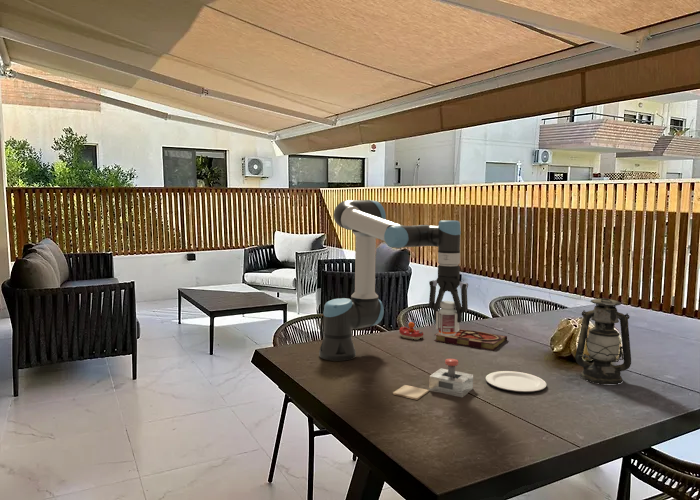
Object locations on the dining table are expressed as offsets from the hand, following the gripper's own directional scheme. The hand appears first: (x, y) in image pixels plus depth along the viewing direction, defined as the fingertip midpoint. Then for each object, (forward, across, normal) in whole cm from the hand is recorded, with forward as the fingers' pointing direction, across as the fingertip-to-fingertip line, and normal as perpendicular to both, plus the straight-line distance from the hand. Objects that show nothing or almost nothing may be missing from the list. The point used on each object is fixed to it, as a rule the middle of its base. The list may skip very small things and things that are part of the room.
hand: (447, 330), depth 183 cm
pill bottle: (+2, 0, 0) cm, 2 cm away
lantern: (+20, +46, +36) cm, 62 cm away
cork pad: (+20, -7, -15) cm, 25 cm away
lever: (+16, +3, -4) cm, 16 cm away
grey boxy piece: (+20, +3, -4) cm, 20 cm away
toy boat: (+19, -38, +51) cm, 67 cm away
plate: (+20, +20, +14) cm, 32 cm away
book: (+20, -13, +62) cm, 66 cm away
